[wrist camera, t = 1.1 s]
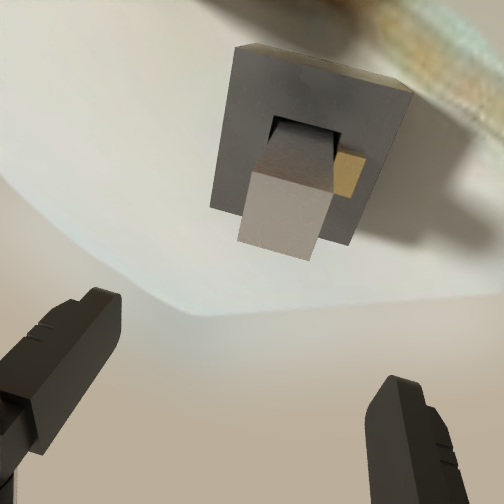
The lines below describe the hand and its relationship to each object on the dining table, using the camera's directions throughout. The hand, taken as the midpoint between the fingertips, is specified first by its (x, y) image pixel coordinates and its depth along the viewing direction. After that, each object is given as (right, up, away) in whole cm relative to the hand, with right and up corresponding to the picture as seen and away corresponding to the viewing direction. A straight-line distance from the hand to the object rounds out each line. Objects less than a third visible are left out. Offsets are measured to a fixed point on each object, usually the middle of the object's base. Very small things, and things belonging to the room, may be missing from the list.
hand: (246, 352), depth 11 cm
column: (+5, +14, +23) cm, 27 cm away
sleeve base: (+5, +14, +23) cm, 27 cm away
